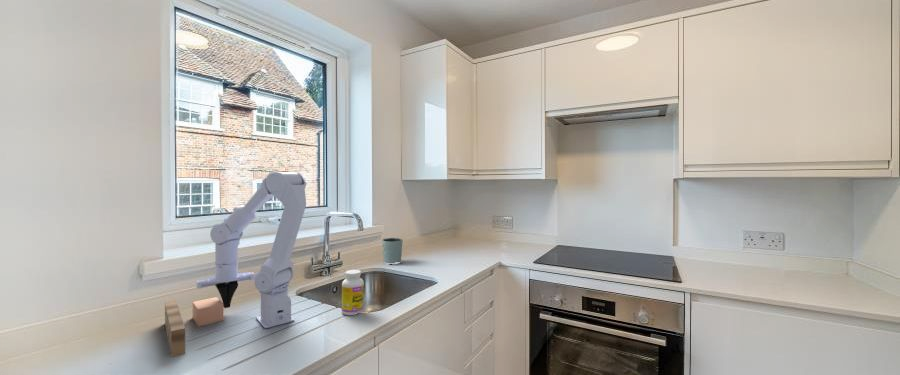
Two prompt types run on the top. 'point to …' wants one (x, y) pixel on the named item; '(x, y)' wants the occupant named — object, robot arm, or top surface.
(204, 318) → the block
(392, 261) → the green plant pot
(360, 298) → the supplement bottle
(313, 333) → the top surface
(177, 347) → the plank
